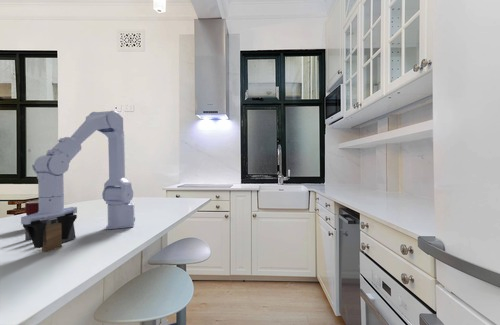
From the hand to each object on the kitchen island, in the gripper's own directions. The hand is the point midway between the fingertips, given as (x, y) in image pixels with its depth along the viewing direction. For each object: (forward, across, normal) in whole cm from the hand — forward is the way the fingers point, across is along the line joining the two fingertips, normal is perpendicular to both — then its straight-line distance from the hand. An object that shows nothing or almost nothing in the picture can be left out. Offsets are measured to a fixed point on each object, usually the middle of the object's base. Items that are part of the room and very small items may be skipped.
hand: (52, 243), depth 72 cm
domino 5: (+2, -7, -2) cm, 7 cm away
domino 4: (+2, 0, 0) cm, 2 cm away
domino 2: (+2, -7, -11) cm, 13 cm away
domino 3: (+2, -7, -7) cm, 10 cm away
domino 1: (+2, -7, -16) cm, 17 cm away
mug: (+2, -18, -28) cm, 33 cm away
